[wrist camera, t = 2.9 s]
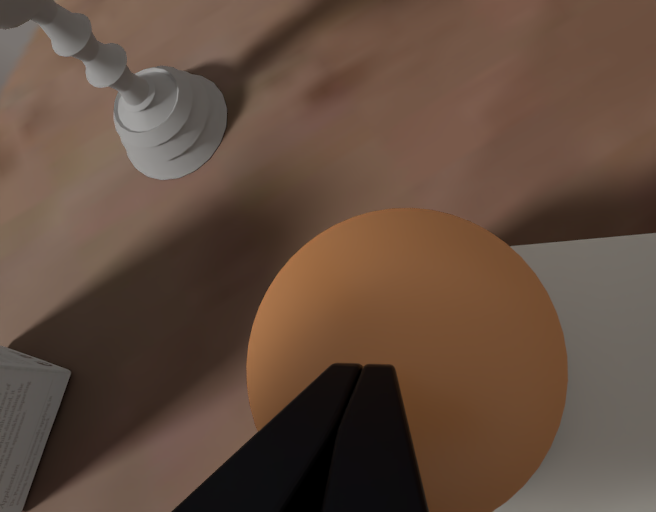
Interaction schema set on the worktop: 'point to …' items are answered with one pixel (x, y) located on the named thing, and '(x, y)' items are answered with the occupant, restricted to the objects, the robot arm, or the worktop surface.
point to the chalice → (136, 93)
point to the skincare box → (25, 420)
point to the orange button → (424, 344)
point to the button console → (600, 377)
